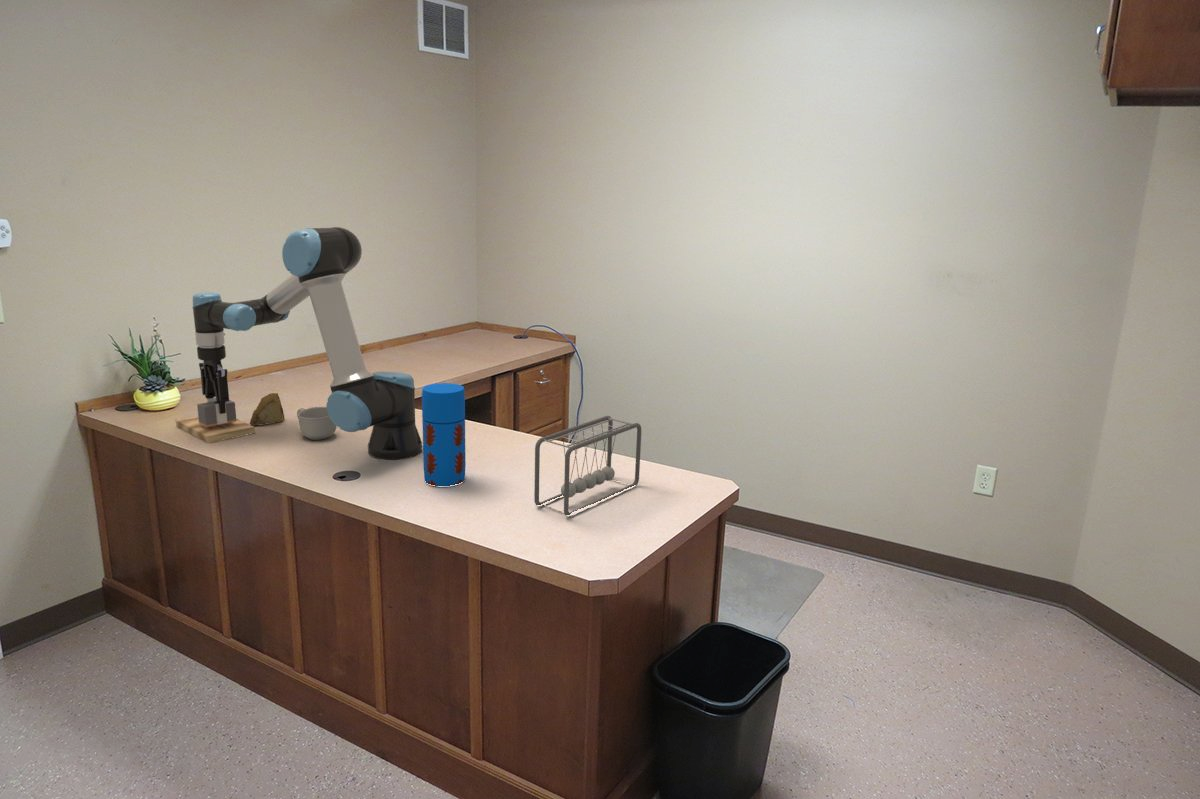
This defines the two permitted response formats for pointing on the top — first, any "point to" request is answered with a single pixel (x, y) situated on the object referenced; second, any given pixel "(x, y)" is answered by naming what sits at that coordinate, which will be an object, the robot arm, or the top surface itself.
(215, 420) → the block
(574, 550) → the top surface
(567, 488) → the newton's cradle
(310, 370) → the top surface
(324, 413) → the teacup
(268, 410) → the rock
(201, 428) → the board
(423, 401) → the thermos
